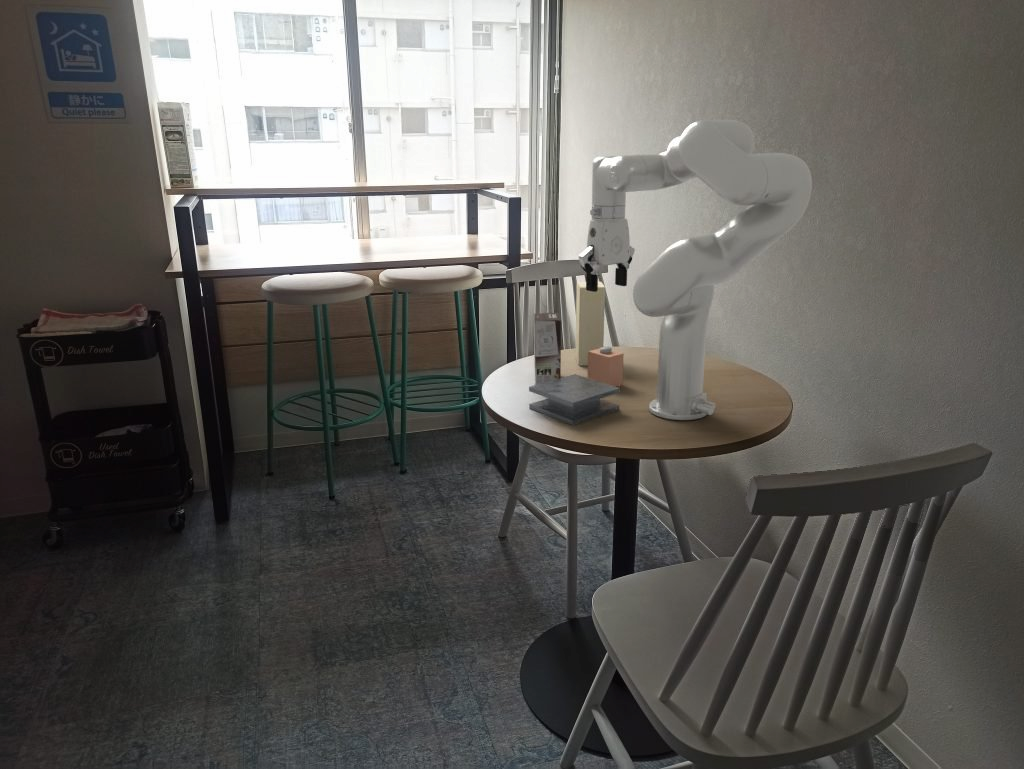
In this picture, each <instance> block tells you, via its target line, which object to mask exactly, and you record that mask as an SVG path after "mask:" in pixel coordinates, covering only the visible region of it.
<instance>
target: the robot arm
mask: <svg viewBox="0 0 1024 769" xmlns="http://www.w3.org/2000/svg"><path fill="white" fill-rule="evenodd" d="M755 140H756V139H755V135H754V132H753V131H752V129H751V128H750V126H749V125H748V124H746V123H745V122H742V121H740V120H735V119H700V120H697V121H695V122H692V123H691V124H689V125H688V126H687V127H686V128H685V129H684V130H683V132H682V133H681V135H678V136H676V137H674V138H673V139H672V140H671V141H670V143H669V144H668V146H667V150H666V151H664V152H660V153H657V154H655V153H653V154H634V155H633V154H632V155H627V154H626V155H605V156H604V155H603V156H598V157H597V156H596V157H595V158H594V159H593V161H592V172H591V174H592V178H591V180H592V181H591V182H592V183H591V186H592V187H591V210H590V212H589V214H590V216H591V220H590V221H589V226H588V233H587V240H586V241H587V242H586V243H587V244H586V249H585V250H584V251H583V252H581V253H580V254H579V255H578V261H579V263H580V267H581V268H582V270H583V273H584V274H585V276H586V277H585V282H586V290H587V291H592V292H597V291H598V282H599V275H598V274H597V272H598V270H599V268H600V267H601V266H610V265H611V266H613V265H615V266H617V267H615V272H614V273H615V277H614V284H615V286H620V287H627V284H628V270H629V269H630V264H631V263H632V262H633V261H632V260H633V257H634V254H635V251H636V249H635V248H634V247H632V246H631V244H630V240H631V238H630V229H629V228H630V227H629V223H628V222H629V221H628V218H626V198H627V197H626V196H627V195H626V194H627V193H629V192H630V193H632V192H633V193H635V192H645V191H646V192H648V191H658V190H662V189H666V188H670V187H674V186H675V187H676V186H677V185H681V184H684V183H686V182H688V181H689V180H692V179H695V178H697V179H699V180H700V181H701V182H703V183H704V184H705V185H706V186H708V187H709V188H710V189H711V190H712V191H713V192H714V193H716V194H717V196H719V197H721V198H722V199H723V200H725V201H727V202H728V203H730V204H733V205H735V206H736V205H737V206H747V207H746V208H744V209H742V210H741V211H739V212H738V213H737V214H735V215H734V216H733V217H732V218H731V219H729V221H727V223H725V224H724V225H723V226H722V227H720V228H719V229H718V230H717V231H715V232H713V233H710V234H706V235H699V236H690V237H686V238H683V239H680V240H677V241H676V242H674V243H672V244H671V245H670V246H668V247H667V248H666V249H664V251H663V252H662V253H661V254H660V255H659V256H658V257H657V258H655V260H653V261H652V262H651V264H649V265H648V266H647V267H646V268H645V269H644V270H643V271H642V272H641V273H640V274H639V276H638V277H637V279H636V281H635V283H634V285H633V289H632V299H633V303H634V305H635V308H636V310H638V311H639V312H640V313H641V314H643V315H645V316H647V317H650V318H659V317H663V319H662V322H661V325H660V329H659V340H658V341H659V342H658V361H657V362H658V363H657V386H656V387H657V388H656V398H655V399H653V400H651V401H650V402H649V405H648V410H649V411H650V412H651V413H652V414H653V415H655V416H657V417H659V418H662V419H667V420H676V421H694V420H698V419H702V418H705V417H706V416H707V415H709V416H712V415H713V414H714V412H715V409H716V403H715V402H711V401H708V400H707V393H706V392H703V386H704V374H705V372H704V370H705V357H706V345H707V344H706V342H707V331H708V330H707V329H708V321H709V320H708V319H709V315H710V311H711V310H710V309H711V308H712V304H713V299H714V294H715V285H719V284H720V285H721V284H724V283H726V282H728V281H730V280H731V279H732V278H734V277H735V276H737V274H739V273H740V272H741V271H742V270H743V269H745V268H746V267H747V266H748V265H750V263H752V262H754V261H755V260H756V259H758V257H759V256H761V255H762V254H763V253H764V252H765V251H766V250H767V249H769V248H770V247H771V246H772V245H774V244H775V243H776V242H777V241H779V240H780V239H781V238H782V237H783V236H785V235H786V234H787V233H789V231H790V230H791V229H793V227H795V225H796V224H797V223H798V222H799V221H800V219H801V218H802V217H803V214H804V213H805V211H806V209H807V208H808V205H809V202H810V200H811V195H812V190H813V189H812V188H813V186H812V185H813V182H812V180H813V179H812V173H811V170H810V168H809V166H808V164H807V163H806V162H805V161H804V160H803V159H802V158H800V157H798V156H796V155H794V154H789V153H785V152H767V153H766V152H764V153H763V152H762V153H759V152H758V153H753V152H754V148H755V146H756V145H755V144H756V141H755Z"/></svg>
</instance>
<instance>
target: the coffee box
mask: <svg viewBox="0 0 1024 769" xmlns="http://www.w3.org/2000/svg"><path fill="white" fill-rule="evenodd" d="M533 318H534V319H533V322H534V323H533V324H534V325H533V332H534V334H533V335H534V336H533V338H534V339H533V340H534V342H533V346H534V347H533V348H534V354H533V355H534V382H535V383H534V385H538V384H541V383H545V382H548V381H552V380H556V379H559V378H561V376H562V375H561V371H562V370H561V365H562V364H561V356H562V354H561V353H562V350H561V349H562V318H561V316H560V313H559V312H543V313H534V315H533Z"/></svg>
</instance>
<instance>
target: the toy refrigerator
mask: <svg viewBox="0 0 1024 769" xmlns="http://www.w3.org/2000/svg"><path fill="white" fill-rule="evenodd" d="M575 298H576V299H575V300H576V302H575V304H576V305H575V306H576V307H575V308H576V310H575V314H576V315H575V359H576V360H575V361H576V362H577V366H580V367H581V366H582V367H583V366H585V367H588V351H591V350H595V349H599V348H601V347H604V343H605V342H604V340H605V338H604V336H605V333H604V332H605V307H606V306H605V305H606V304H605V302H606V286H605V285H604V284H603V282H602V281H598V291H597V292H592V291H587V290H586V281H577V282H576V297H575Z"/></svg>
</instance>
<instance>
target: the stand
mask: <svg viewBox="0 0 1024 769" xmlns="http://www.w3.org/2000/svg"><path fill="white" fill-rule="evenodd" d="M528 389H529V390H528V392H530V393H533V394H536V395H538V396H541V397H543V398H544V397H545V399H542V400H539V401H538V400H537V401H536V402H535V401H534V402H532V403H528V405H529V406H528V408H529V409H530V408H531V409H530V410H532V409H533V410H532V411H535V412H538V413H541V414H543V415H546V416H548V417H551V418H554V419H556V420H558V421H560V422H564V423H566V424H568V425H571V426H575V425H578V423H579V424H581V423H584V422H587V421H590V420H593V419H597V418H599V417H602V416H606V415H609V414H611V413H615V412H617V411H620V405H619V404H616V403H613V402H610V401H608V400H604V399H605V398H606V397H611V396H614V395H616V394H620V392H621V388H620V387H619V386H618V387H615V386H611V385H608V384H605V383H602V382H599V381H596V380H592V379H589V378H588V377H585V376H583V375H579V374H577V373H574V374H570V375H566V376H563V377H560V378H559V379H556V380H552V381H548V382H545V383H541V384H538V385H536V384H534V385H531V386H529V387H528Z"/></svg>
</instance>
